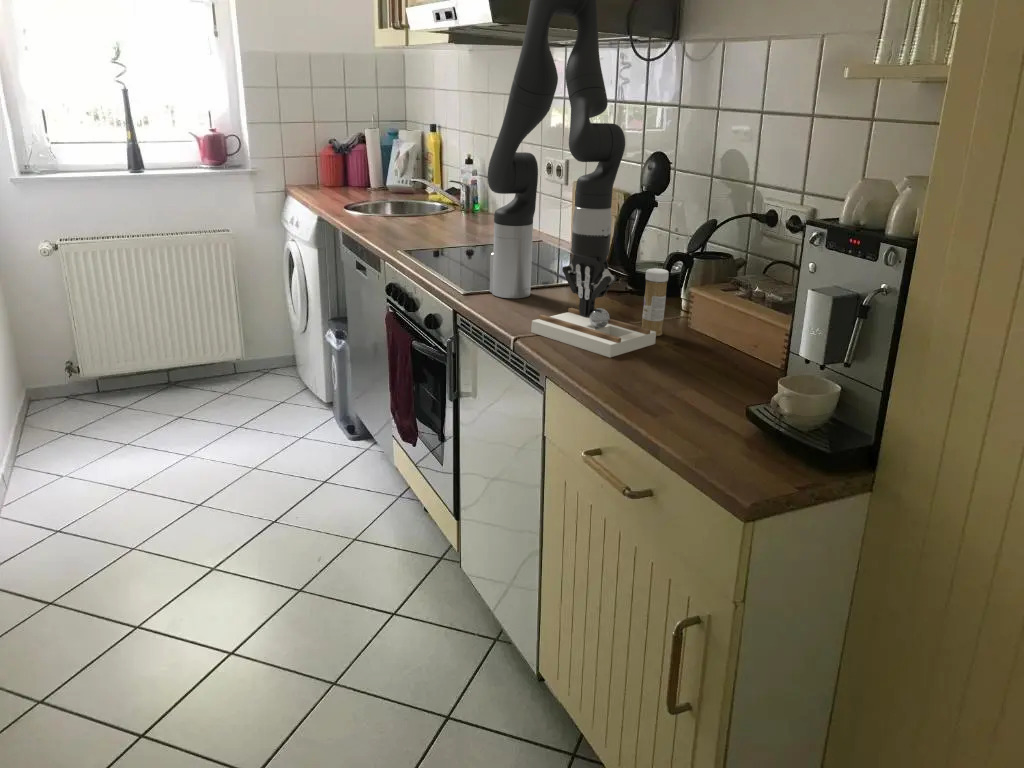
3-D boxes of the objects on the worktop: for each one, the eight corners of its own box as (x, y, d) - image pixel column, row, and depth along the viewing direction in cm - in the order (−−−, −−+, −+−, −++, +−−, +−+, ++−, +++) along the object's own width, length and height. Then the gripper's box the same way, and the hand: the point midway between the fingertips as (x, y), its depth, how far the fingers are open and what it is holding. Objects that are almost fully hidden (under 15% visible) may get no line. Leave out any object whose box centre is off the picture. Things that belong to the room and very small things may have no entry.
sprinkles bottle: (638, 330, 170) (643, 267, 166) (659, 330, 171) (665, 267, 166) (643, 337, 166) (649, 272, 161) (665, 337, 166) (671, 272, 162)
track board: (531, 332, 167) (531, 316, 166) (576, 321, 176) (577, 306, 175) (609, 357, 153) (611, 340, 151) (655, 343, 162) (656, 328, 161)
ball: (582, 321, 162) (590, 305, 160) (595, 318, 165) (603, 302, 163) (595, 333, 161) (603, 317, 158) (608, 330, 163) (616, 314, 161)
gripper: (553, 227, 160) (549, 312, 166) (605, 237, 151) (598, 326, 157) (579, 224, 165) (574, 307, 171) (630, 233, 156) (623, 320, 162)
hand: (586, 316), depth 164 cm, fingers closed
